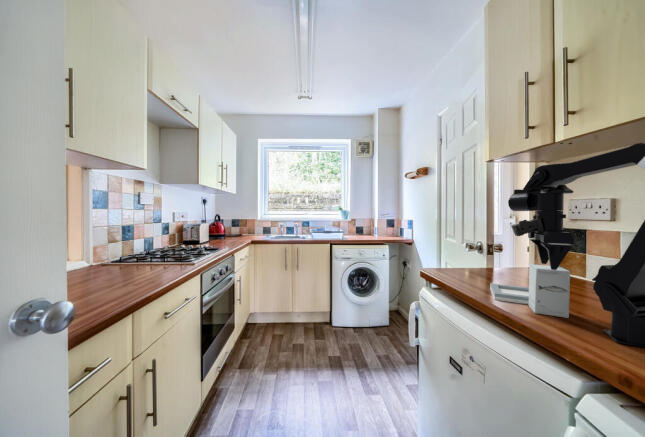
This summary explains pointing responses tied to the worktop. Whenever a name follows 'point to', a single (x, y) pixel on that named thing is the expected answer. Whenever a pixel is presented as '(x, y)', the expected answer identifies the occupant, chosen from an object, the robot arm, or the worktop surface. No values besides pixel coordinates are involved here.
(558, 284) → the supplement box
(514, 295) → the tile coaster
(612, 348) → the worktop surface
